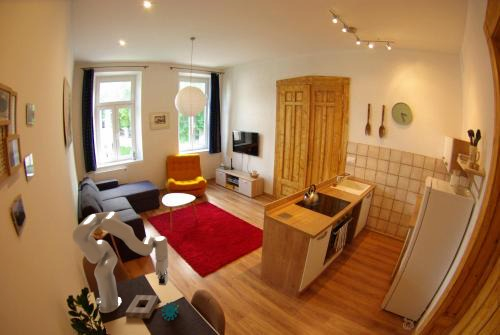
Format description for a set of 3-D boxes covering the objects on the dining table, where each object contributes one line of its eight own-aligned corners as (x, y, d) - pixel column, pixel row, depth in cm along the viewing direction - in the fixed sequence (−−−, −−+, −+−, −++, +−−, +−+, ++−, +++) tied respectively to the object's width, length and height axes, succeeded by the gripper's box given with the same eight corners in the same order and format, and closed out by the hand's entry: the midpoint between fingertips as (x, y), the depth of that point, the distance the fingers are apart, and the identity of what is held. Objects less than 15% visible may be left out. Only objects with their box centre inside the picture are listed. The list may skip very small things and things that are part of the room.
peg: (158, 285, 162) (158, 275, 161) (161, 280, 167) (160, 271, 165) (165, 285, 162) (165, 276, 161) (168, 280, 166) (167, 271, 165)
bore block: (126, 317, 151) (125, 312, 150) (137, 300, 165) (136, 295, 164) (149, 318, 151) (148, 312, 150) (158, 300, 165) (157, 295, 164)
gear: (165, 323, 146) (160, 305, 149) (161, 325, 149) (156, 308, 153) (182, 314, 154) (177, 298, 157) (178, 316, 157) (173, 300, 161)
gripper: (161, 248, 168) (162, 272, 172) (150, 263, 152) (152, 289, 156) (172, 248, 168) (173, 272, 172) (162, 264, 151) (164, 290, 156)
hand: (163, 280), depth 164 cm, fingers closed on peg, 4 cm apart
